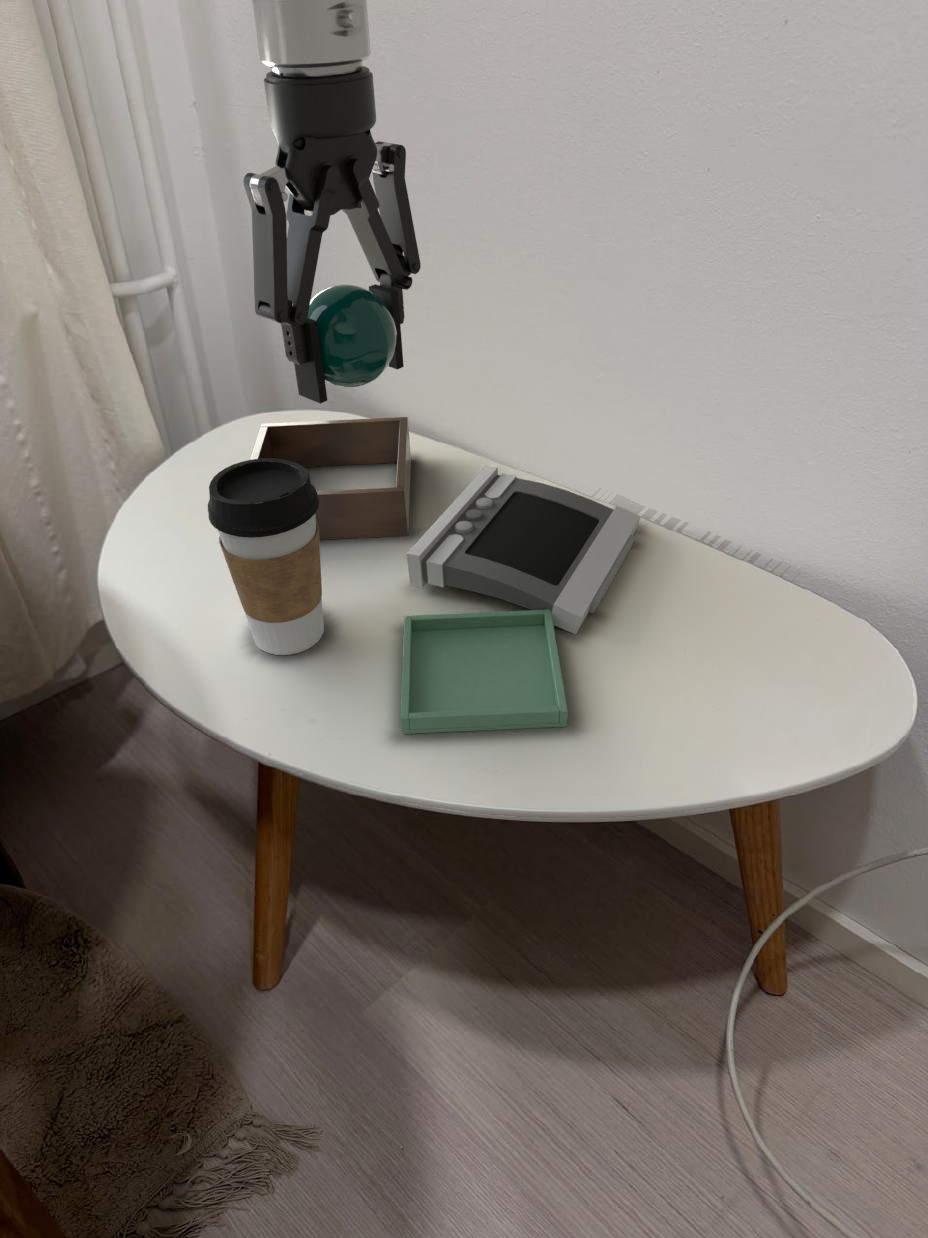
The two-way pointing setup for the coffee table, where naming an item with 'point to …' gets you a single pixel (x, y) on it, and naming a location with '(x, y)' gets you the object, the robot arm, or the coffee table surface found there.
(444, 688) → the tray
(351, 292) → the sphere
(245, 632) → the coffee table surface
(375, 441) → the box
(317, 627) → the coffee cup
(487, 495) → the alarm clock
